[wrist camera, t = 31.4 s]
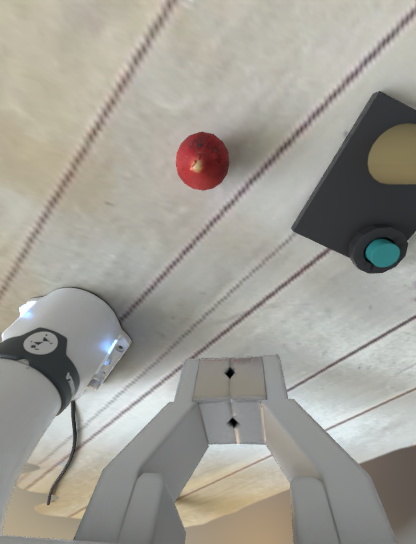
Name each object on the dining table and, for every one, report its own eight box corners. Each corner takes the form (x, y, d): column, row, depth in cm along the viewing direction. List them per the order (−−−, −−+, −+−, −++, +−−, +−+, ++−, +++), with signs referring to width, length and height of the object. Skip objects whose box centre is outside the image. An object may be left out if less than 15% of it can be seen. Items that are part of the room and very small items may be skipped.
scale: (373, 270, 35) (384, 280, 33) (289, 231, 34) (293, 238, 31) (476, 148, 28) (501, 148, 25) (373, 93, 27) (387, 87, 24)
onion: (186, 129, 30) (170, 124, 23) (234, 138, 30) (233, 136, 23) (180, 180, 33) (164, 190, 26) (225, 189, 33) (220, 201, 26)
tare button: (380, 265, 32) (387, 271, 31) (359, 255, 32) (365, 261, 30) (397, 244, 31) (406, 250, 29) (376, 234, 31) (383, 239, 29)
